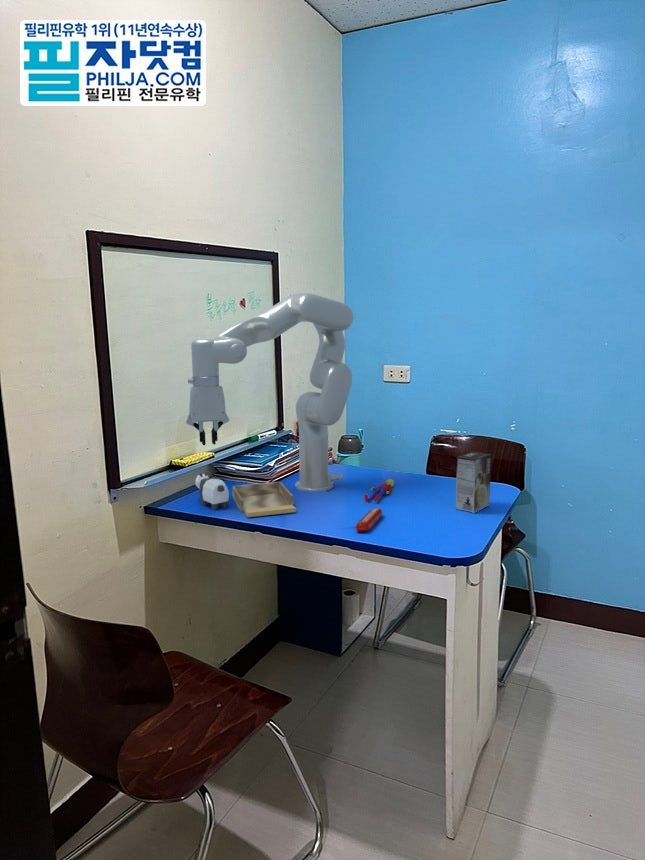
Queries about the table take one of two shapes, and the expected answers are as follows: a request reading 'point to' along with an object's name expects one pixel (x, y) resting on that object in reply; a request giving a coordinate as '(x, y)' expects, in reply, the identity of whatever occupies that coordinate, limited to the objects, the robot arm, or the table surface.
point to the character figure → (380, 490)
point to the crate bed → (261, 495)
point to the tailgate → (270, 510)
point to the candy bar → (369, 520)
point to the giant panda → (212, 491)
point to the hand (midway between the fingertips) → (208, 443)
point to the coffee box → (473, 481)
